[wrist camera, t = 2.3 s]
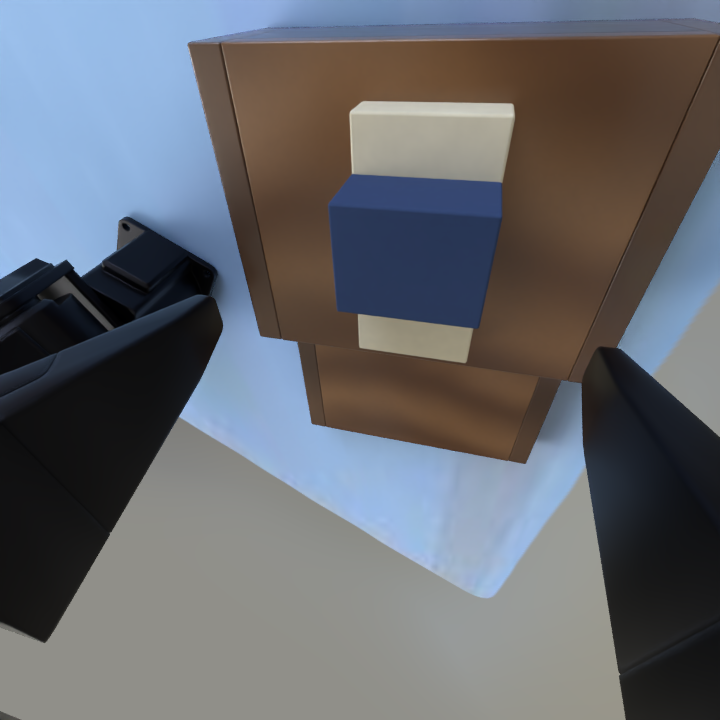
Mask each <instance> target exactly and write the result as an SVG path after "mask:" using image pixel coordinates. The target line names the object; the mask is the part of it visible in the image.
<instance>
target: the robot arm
mask: <svg viewBox="0 0 720 720" xmlns="http://www.w3.org/2000/svg"><path fill="white" fill-rule="evenodd" d="M73 269H74V267H73V266H72V265H71V264H70V263H69V262H68V261H67V260H65V261H63V262H61V263H59V264H57V265H56V266H53V265H52V264H51V263H50V264H49V263H46V262H44V261H41V260H39V259H37V258H36V259H34V260H32V261H31V262H29V263H27V264H26V265H24V266H22V267H20V268H19V269H17V270H15V271H14V272H12V273H10V274H9V275H7V276H5V277H3V278H2V279H0V627H1V628H3V629H6V630H9V631H12V632H15V633H17V634H20V635H23V636H26V637H29V638H32V639H34V640H37V641H40V642H43V643H45V642H46V641H47V640H48V639H49V637H50V636H51V634H52V633H53V631H54V630H55V628H56V626H57V624H58V623H59V621H60V619H61V618H62V616H63V614H64V612H65V611H66V609H67V607H68V606H69V604H70V602H71V601H72V599H73V597H74V595H75V594H76V592H77V590H78V589H79V587H80V585H81V583H82V582H83V580H84V578H85V577H86V575H87V573H88V571H89V570H90V568H91V566H92V564H93V563H94V561H95V559H96V557H97V556H98V554H99V553H100V551H101V549H102V547H103V546H104V544H105V542H106V540H107V539H108V537H109V535H110V532H112V530H113V528H114V527H115V525H116V523H117V521H118V520H119V518H120V516H121V515H122V513H123V511H124V509H125V508H126V506H127V504H128V503H129V501H130V499H131V497H132V496H133V494H134V492H135V490H136V489H137V487H138V486H139V483H140V482H141V480H142V479H143V477H144V475H145V474H146V472H147V470H148V468H149V467H150V465H151V463H152V461H153V460H154V458H155V456H156V455H157V453H158V451H159V450H160V448H161V446H162V445H163V443H164V441H165V439H166V438H167V436H168V434H169V433H170V431H171V429H172V427H173V426H174V424H175V422H176V421H177V419H178V417H179V415H180V414H181V412H182V410H183V409H184V407H185V405H186V404H187V402H188V400H189V398H190V397H191V395H192V393H193V392H194V390H195V388H196V386H197V385H198V383H199V381H200V379H201V377H202V375H203V373H204V371H205V369H206V367H207V364H208V362H209V360H210V358H211V355H212V353H213V351H214V349H215V346H216V344H217V342H218V339H219V337H220V335H221V333H222V329H223V322H222V318H221V315H220V312H219V309H218V306H217V303H216V300H215V299H214V298H213V297H211V293H212V290H213V287H214V284H215V280H216V277H217V270H216V269H215V267H213V266H212V265H210V264H209V263H207V262H205V261H204V260H202V259H200V258H198V257H197V256H195V255H193V254H192V253H190V252H188V251H186V250H185V249H183V248H181V247H180V246H178V245H176V244H174V243H173V242H171V241H169V240H168V239H166V238H164V237H162V236H161V235H159V234H157V233H156V232H154V231H152V230H150V229H149V228H147V227H145V226H144V225H142V224H140V223H139V222H137V221H135V220H133V219H132V218H130V217H124V218H123V219H121V220H120V221H119V224H118V240H117V251H116V252H114V253H113V254H111V255H110V256H108V257H107V258H106V259H104V260H103V261H102V263H101V264H99V265H98V266H96V267H95V268H93V269H92V270H91V271H89V272H88V273H86V274H85V275H83V276H82V277H80V276H79V275H78V274H77V273H76V272H75V271H74V270H73ZM207 271H208V272H209V273H210V274H209V273H208V272H207ZM582 429H583V448H584V456H585V462H586V469H587V475H588V481H589V487H590V494H591V500H592V507H593V513H594V519H595V525H596V532H597V538H598V545H599V551H600V558H601V564H602V570H603V577H604V583H605V589H606V595H607V601H608V608H609V614H610V621H611V627H612V633H613V639H614V646H615V653H616V659H617V665H618V671H619V673H620V675H619V679H620V686H621V692H622V698H623V704H624V711H625V718H626V720H720V437H719V436H718V435H717V434H716V433H714V432H713V431H712V430H711V429H710V428H709V427H708V426H707V425H705V424H704V423H703V422H702V421H701V420H700V419H699V418H698V417H697V416H695V415H694V414H693V413H692V412H691V411H690V410H689V409H688V408H686V407H685V406H684V405H683V404H682V403H681V402H680V401H679V400H677V399H676V398H675V397H674V396H673V395H672V394H671V393H669V392H668V391H667V390H666V389H665V388H664V387H663V386H662V385H661V384H659V383H658V382H657V381H656V380H655V379H654V378H653V377H652V376H650V375H649V374H648V373H647V372H646V371H645V370H644V369H643V368H641V367H640V366H639V365H638V364H637V363H636V362H635V361H634V360H632V359H631V358H630V357H629V356H628V355H627V354H626V353H625V352H623V351H622V350H621V349H618V348H611V347H604V346H600V347H598V348H597V349H596V350H595V351H594V353H593V355H592V358H591V360H590V362H589V364H588V366H587V368H586V370H585V372H584V375H583V378H582ZM0 720H20V719H18V718H15V717H13V716H10V715H8V714H6V713H3V712H1V711H0Z"/></svg>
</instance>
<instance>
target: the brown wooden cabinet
mask: <svg viewBox="0 0 720 720" xmlns="http://www.w3.org/2000/svg"><path fill="white" fill-rule="evenodd" d="M188 49H189V53H190V57H191V61H192V65H193V69H194V73H195V77H196V81H197V85H198V89H199V93H200V97H201V101H202V105H203V109H204V113H205V117H206V121H207V125H208V129H209V133H210V137H211V141H212V145H213V149H214V153H215V157H216V161H217V165H218V169H219V173H220V177H221V181H222V185H223V189H224V193H225V197H226V201H227V205H228V209H229V213H230V217H231V221H232V225H233V229H234V233H235V237H236V241H237V245H238V249H239V253H240V257H241V261H242V265H243V268H244V272H245V276H246V280H247V284H248V288H249V292H250V296H251V300H252V304H253V308H254V312H255V316H256V320H257V324H258V328H259V332H260V336H263V337H270V338H276V339H283V340H290V341H297V342H298V347H299V353H300V359H301V365H302V370H303V376H304V382H305V388H306V393H307V399H308V405H309V411H310V416H311V422H312V424H315V425H320V426H326V427H330V428H336V429H341V430H346V431H352V432H357V433H362V434H368V435H373V436H378V437H383V438H389V439H394V440H399V441H405V442H410V443H415V444H421V445H426V446H431V447H437V448H442V449H447V450H453V451H458V452H463V453H469V454H474V455H479V456H485V457H490V458H495V459H501V460H506V461H508V460H509V461H512V462H518V463H523V464H526V462H527V460H528V457H529V455H530V453H531V450H532V448H533V446H534V443H535V441H536V439H537V436H538V434H539V432H540V429H541V427H542V425H543V422H544V420H545V418H546V415H547V413H548V411H549V408H550V406H551V404H552V402H553V399H554V397H555V395H556V392H557V390H558V388H559V385H560V383H561V381H562V380H565V381H566V380H568V381H570V382H577V383H582V378H583V375H584V372H585V370H586V368H587V366H588V364H589V362H590V360H591V358H592V355H593V353H594V351H595V350H596V349H597V348H598V347H600V346H604V347H611V348H616V347H617V345H618V343H619V342H620V340H621V338H622V336H623V334H624V332H625V330H626V328H627V326H628V324H629V322H630V320H631V318H632V317H633V315H634V313H635V311H636V309H637V307H638V305H639V303H640V301H641V299H642V297H643V295H644V293H645V291H646V290H647V288H648V286H649V284H650V282H651V280H652V278H653V276H654V274H655V272H656V270H657V268H658V266H659V265H660V263H661V261H662V259H663V257H664V255H665V253H666V251H667V249H668V247H669V245H670V243H671V241H672V239H673V238H674V236H675V234H676V232H677V230H678V228H679V226H680V224H681V222H682V220H683V218H684V216H685V214H686V213H687V211H688V209H689V207H690V205H691V203H692V201H693V199H694V197H695V195H696V193H697V191H698V189H699V187H700V186H701V184H702V182H703V180H704V178H705V176H706V174H707V172H708V170H709V168H710V166H711V164H712V162H713V161H714V159H715V157H716V155H717V153H718V151H719V149H720V23H717V22H711V21H706V20H700V19H694V18H688V19H657V20H655V19H645V20H601V21H556V22H512V23H468V24H424V25H379V26H335V27H292V28H263V29H258V30H252V31H247V32H242V33H236V34H231V35H225V36H220V37H214V38H209V39H204V40H198V41H193V42H189V43H188ZM363 101H388V102H450V103H511V104H513V105H514V111H515V122H514V127H513V132H512V137H511V142H510V147H509V152H508V157H507V162H506V167H505V172H504V177H503V182H502V222H501V227H500V232H499V236H498V241H497V246H496V251H495V255H494V260H493V265H492V270H491V274H490V279H489V284H488V289H487V293H486V298H485V303H484V308H483V312H482V317H481V322H480V326H479V328H478V329H473V333H472V338H471V343H470V348H469V353H468V358H467V361H466V363H461V362H454V361H447V360H440V359H433V358H426V357H419V356H412V355H405V354H398V353H391V352H385V351H378V350H371V349H364V348H360V347H359V331H358V314H355V313H347V312H339V311H337V307H336V296H335V284H334V272H333V260H332V248H331V236H330V224H329V212H328V204H329V202H330V201H331V200H332V198H333V197H334V196H335V195H336V193H337V192H338V191H339V190H340V188H341V187H342V186H343V185H344V183H345V182H346V181H347V179H348V178H349V177H350V176H351V175H352V162H351V138H350V111H351V110H353V109H354V108H355V107H356V106H357V105H359V104H360V103H361V102H363Z"/></svg>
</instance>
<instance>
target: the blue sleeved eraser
mask: <svg viewBox="0 0 720 720" xmlns="http://www.w3.org/2000/svg"><path fill="white" fill-rule="evenodd" d="M514 122H515V111H514V105H513V104H511V103H450V102H388V101H363V102H361V103H360V104H359V105H357V106H356V107H355V108H354V109H353V110H351V111H350V138H351V162H352V175H351V176H350V177H349V178H348V179H347V181H346V182H345V183H344V185H343V186H342V187H341V188H340V190H339V191H338V192H337V193H336V195H335V196H334V197H333V198H332V200H331V201H330V202H329V204H328V212H329V224H330V236H331V248H332V260H333V272H334V284H335V296H336V307H337V311H339V312H347V313H355V314H358V331H359V347H360V348H364V349H371V350H378V351H385V352H391V353H398V354H405V355H412V356H419V357H426V358H433V359H440V360H447V361H454V362H461V363H466V361H467V358H468V353H469V348H470V343H471V338H472V333H473V329H478V328H479V326H480V322H481V317H482V312H483V308H484V303H485V298H486V293H487V289H488V284H489V279H490V274H491V270H492V265H493V260H494V255H495V251H496V246H497V241H498V236H499V232H500V227H501V222H502V182H503V177H504V172H505V167H506V162H507V157H508V152H509V147H510V142H511V137H512V132H513V127H514Z"/></svg>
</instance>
